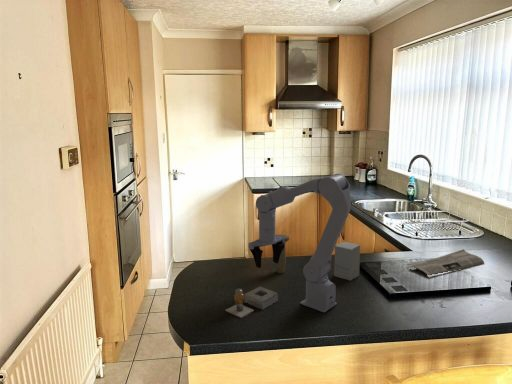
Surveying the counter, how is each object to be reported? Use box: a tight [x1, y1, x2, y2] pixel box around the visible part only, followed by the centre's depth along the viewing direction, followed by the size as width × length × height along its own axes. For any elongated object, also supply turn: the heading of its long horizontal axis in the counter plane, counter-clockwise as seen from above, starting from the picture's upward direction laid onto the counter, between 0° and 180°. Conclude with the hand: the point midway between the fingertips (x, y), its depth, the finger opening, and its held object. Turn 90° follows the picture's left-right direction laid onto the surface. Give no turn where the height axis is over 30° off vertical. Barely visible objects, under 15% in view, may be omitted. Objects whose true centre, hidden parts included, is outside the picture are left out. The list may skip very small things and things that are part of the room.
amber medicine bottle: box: [233, 287, 245, 312], centre depth 125 cm, size 3×3×7 cm
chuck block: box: [244, 286, 279, 310], centre depth 132 cm, size 8×8×3 cm
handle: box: [275, 234, 290, 274], centre depth 157 cm, size 5×6×15 cm
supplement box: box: [334, 241, 361, 281], centre depth 153 cm, size 7×7×13 cm
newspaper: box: [406, 248, 485, 275], centre depth 164 cm, size 35×12×4 cm, turn 117°
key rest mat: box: [225, 304, 255, 319], centre depth 126 cm, size 7×6×1 cm
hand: (267, 264), depth 139 cm, fingers open, 7 cm apart
